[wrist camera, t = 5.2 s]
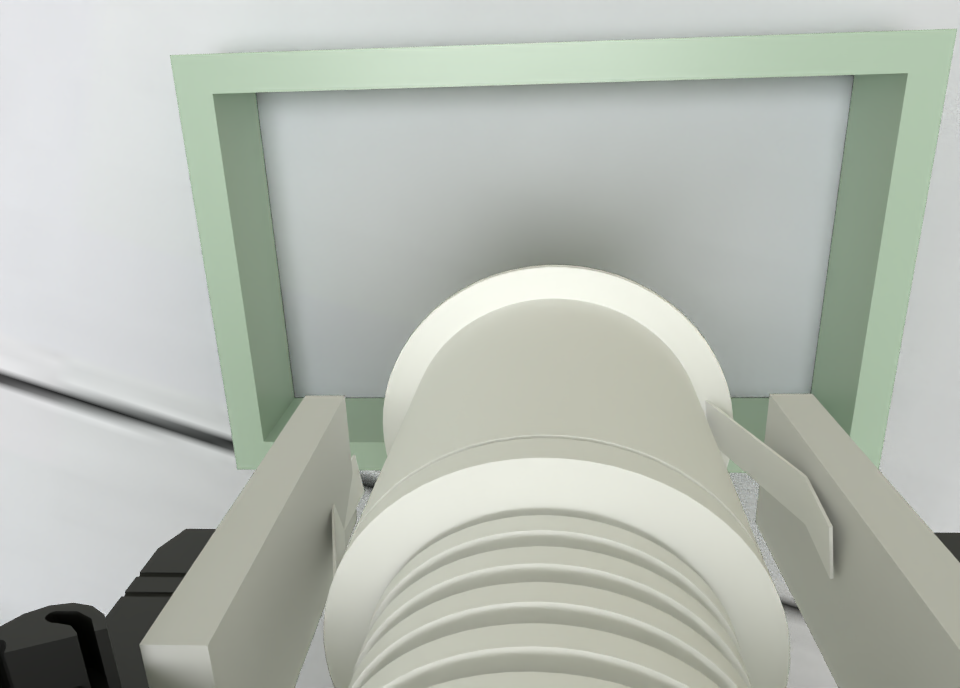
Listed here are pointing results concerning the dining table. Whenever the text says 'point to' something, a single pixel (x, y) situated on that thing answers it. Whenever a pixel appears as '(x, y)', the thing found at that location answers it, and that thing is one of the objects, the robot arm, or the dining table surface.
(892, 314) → the bin
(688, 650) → the downlight
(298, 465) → the robot arm
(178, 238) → the dining table surface
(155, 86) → the dining table surface
